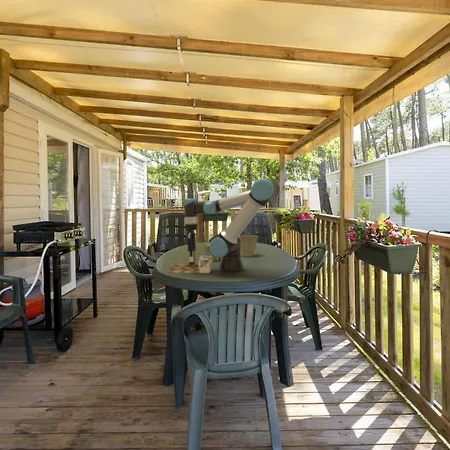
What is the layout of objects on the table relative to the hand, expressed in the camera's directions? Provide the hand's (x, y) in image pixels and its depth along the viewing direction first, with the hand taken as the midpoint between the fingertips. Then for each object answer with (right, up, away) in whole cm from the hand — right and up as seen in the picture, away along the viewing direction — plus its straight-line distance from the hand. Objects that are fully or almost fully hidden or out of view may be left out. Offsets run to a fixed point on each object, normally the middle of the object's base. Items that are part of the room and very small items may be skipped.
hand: (192, 261), depth 221 cm
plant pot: (+38, -2, +55) cm, 67 cm away
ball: (+9, -4, -1) cm, 10 cm away
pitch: (-4, -6, +1) cm, 7 cm away
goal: (+8, -6, -1) cm, 10 cm away
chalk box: (+11, -4, +38) cm, 40 cm away
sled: (0, -5, 0) cm, 5 cm away
